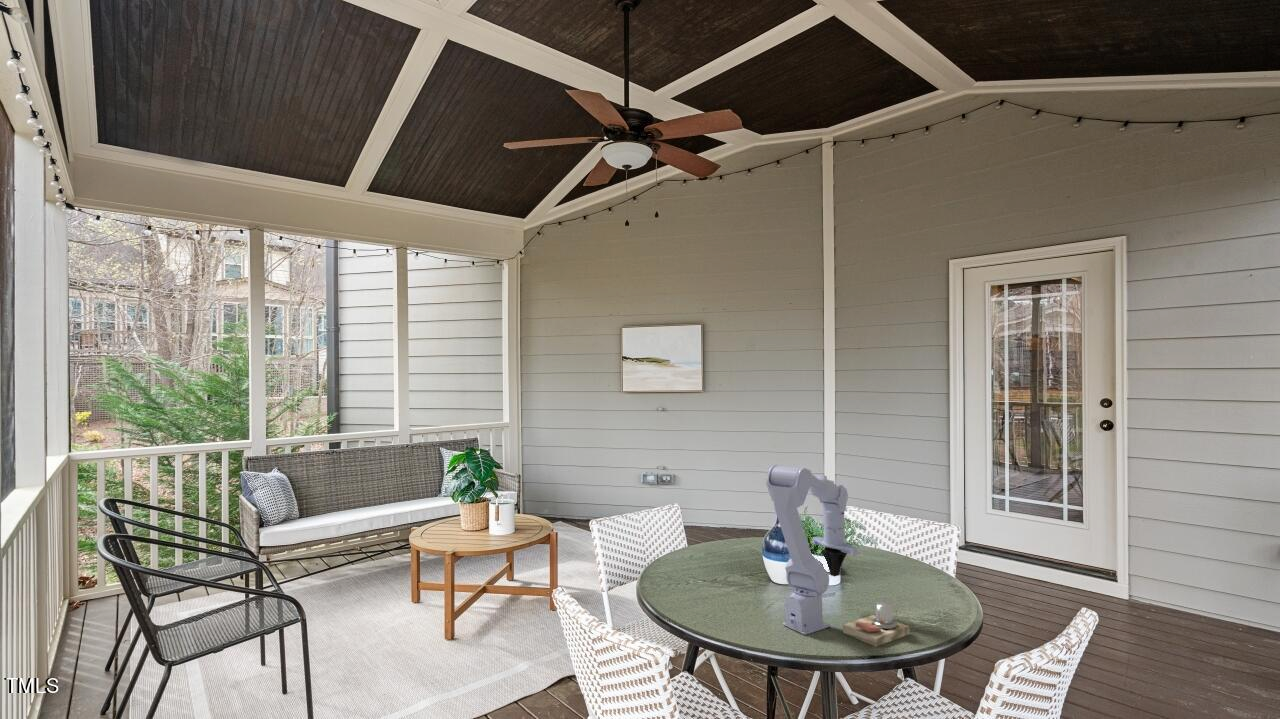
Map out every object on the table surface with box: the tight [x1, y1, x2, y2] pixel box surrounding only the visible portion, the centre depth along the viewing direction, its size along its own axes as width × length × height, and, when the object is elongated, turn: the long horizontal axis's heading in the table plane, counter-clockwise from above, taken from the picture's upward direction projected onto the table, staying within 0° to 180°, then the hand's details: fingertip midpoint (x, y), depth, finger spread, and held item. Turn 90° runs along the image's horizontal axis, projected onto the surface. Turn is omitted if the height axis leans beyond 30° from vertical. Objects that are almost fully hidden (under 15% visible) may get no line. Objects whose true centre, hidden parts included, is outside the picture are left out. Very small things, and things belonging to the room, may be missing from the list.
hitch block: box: [842, 613, 910, 648], centre depth 161 cm, size 13×10×2 cm
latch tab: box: [856, 622, 881, 632], centre depth 158 cm, size 4×4×1 cm
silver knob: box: [873, 601, 898, 631], centre depth 161 cm, size 6×6×7 cm
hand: (834, 575), depth 178 cm, fingers closed
